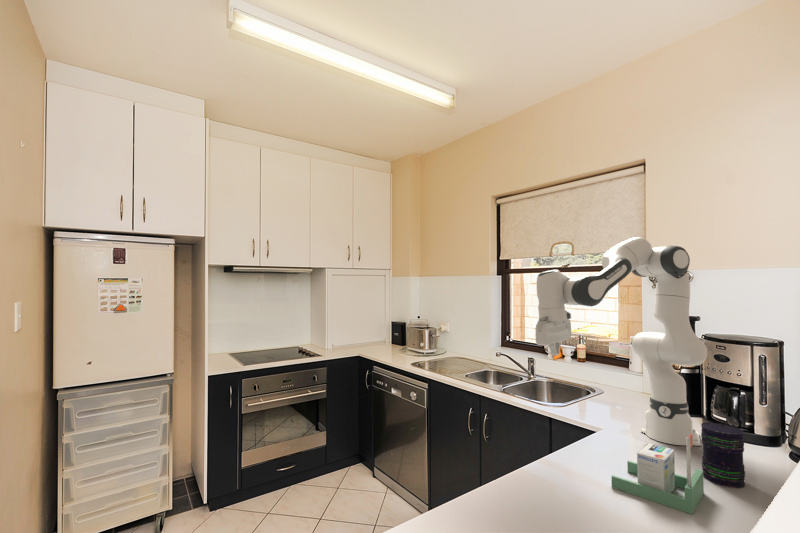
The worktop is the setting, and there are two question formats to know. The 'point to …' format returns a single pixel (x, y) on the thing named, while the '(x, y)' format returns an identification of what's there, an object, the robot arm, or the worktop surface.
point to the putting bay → (687, 504)
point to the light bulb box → (656, 467)
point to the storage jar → (723, 455)
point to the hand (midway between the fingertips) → (555, 355)
